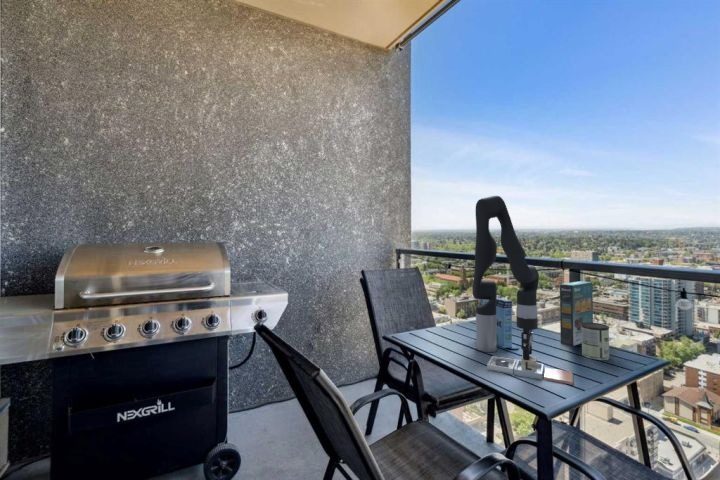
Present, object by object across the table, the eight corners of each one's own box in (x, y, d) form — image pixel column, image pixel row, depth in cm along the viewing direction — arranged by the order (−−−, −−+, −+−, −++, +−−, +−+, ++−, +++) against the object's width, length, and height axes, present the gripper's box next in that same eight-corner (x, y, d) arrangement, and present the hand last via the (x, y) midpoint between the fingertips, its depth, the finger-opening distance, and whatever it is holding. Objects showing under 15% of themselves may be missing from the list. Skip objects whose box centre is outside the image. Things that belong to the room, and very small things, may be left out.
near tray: (492, 360, 146) (492, 355, 146) (516, 364, 141) (516, 359, 141) (487, 369, 135) (487, 364, 135) (513, 374, 130) (512, 368, 130)
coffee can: (583, 351, 158) (583, 321, 158) (611, 356, 151) (610, 324, 151) (579, 356, 150) (579, 325, 150) (607, 362, 143) (607, 329, 143)
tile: (545, 370, 135) (545, 367, 135) (572, 374, 130) (572, 371, 130) (544, 379, 125) (544, 377, 125) (573, 384, 121) (573, 382, 121)
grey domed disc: (496, 363, 141) (496, 358, 141) (509, 365, 139) (509, 360, 139) (494, 366, 137) (494, 361, 137) (507, 369, 135) (507, 364, 135)
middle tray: (517, 365, 140) (517, 359, 140) (543, 369, 135) (543, 363, 135) (514, 374, 130) (514, 369, 130) (542, 379, 125) (542, 373, 125)
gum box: (481, 337, 182) (480, 295, 182) (489, 336, 183) (488, 294, 183) (503, 348, 163) (503, 301, 163) (513, 347, 164) (512, 300, 164)
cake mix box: (580, 336, 183) (579, 281, 183) (593, 338, 177) (592, 282, 178) (560, 343, 170) (559, 284, 171) (573, 346, 165) (572, 285, 166)
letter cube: (522, 367, 136) (522, 354, 136) (536, 369, 134) (536, 356, 134) (521, 371, 132) (521, 358, 132) (535, 373, 129) (535, 360, 129)
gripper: (519, 311, 141) (519, 350, 140) (513, 317, 129) (514, 360, 128) (539, 313, 137) (539, 353, 136) (535, 320, 125) (536, 363, 124)
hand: (527, 356), depth 132 cm, fingers open, 8 cm apart
